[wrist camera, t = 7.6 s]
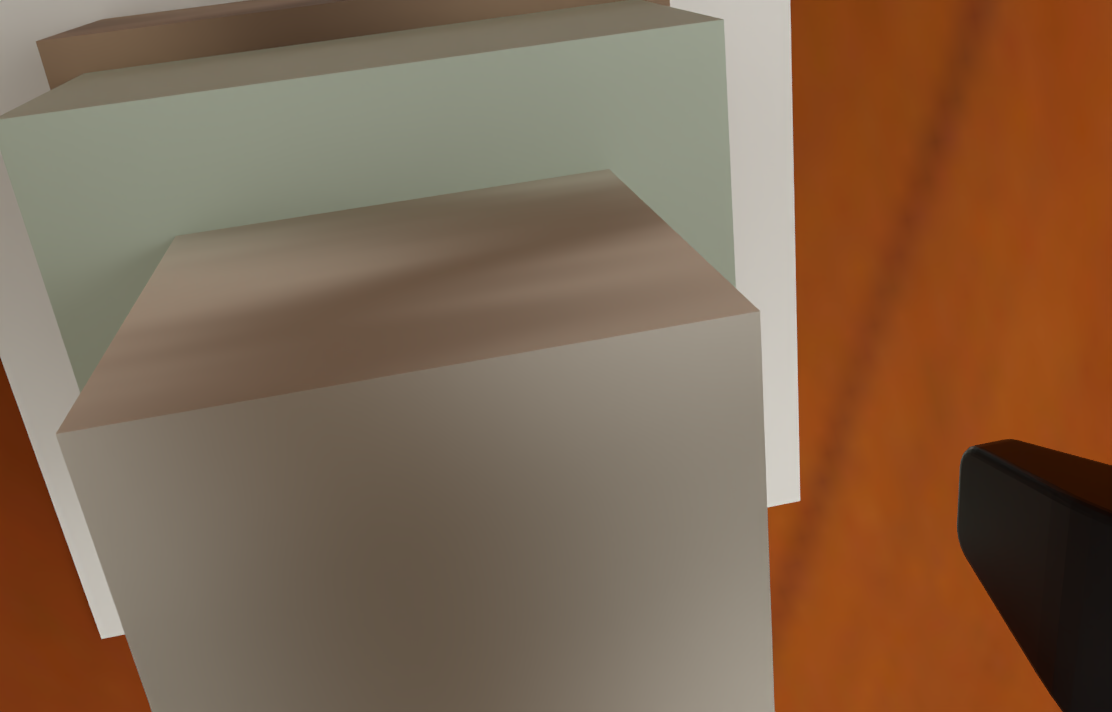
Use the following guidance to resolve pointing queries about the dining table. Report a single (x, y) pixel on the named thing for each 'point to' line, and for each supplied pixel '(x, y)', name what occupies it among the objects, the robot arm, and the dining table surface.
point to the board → (66, 3)
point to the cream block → (436, 463)
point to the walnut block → (258, 29)
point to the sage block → (364, 139)
